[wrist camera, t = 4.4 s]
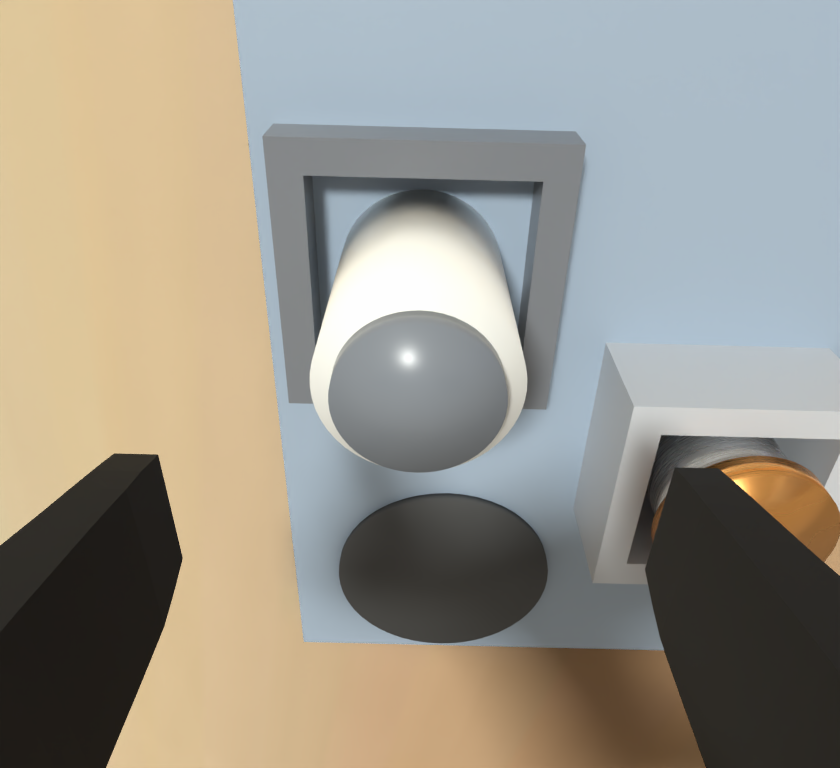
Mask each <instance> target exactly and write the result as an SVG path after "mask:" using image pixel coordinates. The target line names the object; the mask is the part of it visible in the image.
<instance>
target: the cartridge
mask: <svg viewBox="0 0 840 768" xmlns="http://www.w3.org/2000/svg"><path fill="white" fill-rule="evenodd" d="M310 391H311V397H312V400H313V404H314V407H315V410H316V412H317V414H318V416H319V418H320V420H321V421H322V423H323V424H324V426H325V427H326V429H327V430H328V431H329V432H330V433H331V435H332V436H333V437H334V438H335V439H336V440H337V441H338V442H339V443H341V444H342V445H343V446H344V447H345V448H347V449H348V450H350V451H351V452H352V453H354V454H355V455H357V456H359V457H361V458H363V459H365V460H367V461H369V462H372V463H374V464H377V465H380V466H383V467H386V468H389V469H393V470H397V471H403V472H413V473H425V472H435V471H440V470H445V469H449V468H452V467H456V466H459V465H461V464H464V463H467V462H469V461H471V460H473V459H476V458H478V457H479V456H481V455H483V454H484V453H486V452H487V451H489V450H490V449H492V448H493V447H494V446H495V445H497V444H498V443H499V442H500V441H501V440H502V439H503V438H504V437H505V436H506V435H507V434H508V432H509V431H510V430H511V428H512V427H513V426H514V424H515V422H516V421H517V419H518V417H519V415H520V413H521V410H522V408H523V405H524V402H525V397H526V393H527V370H526V364H525V360H524V355H523V351H522V347H521V342H520V338H519V334H518V329H517V325H516V321H515V316H514V312H513V307H512V303H511V299H510V294H509V290H508V286H507V281H506V277H505V273H504V268H503V264H502V260H501V255H500V251H499V247H498V243H497V240H496V238H495V235H494V233H493V231H492V229H491V228H490V226H489V224H488V223H487V222H486V220H485V219H484V218H483V217H482V215H481V214H480V213H478V212H477V211H476V210H475V209H474V208H473V207H472V206H470V205H469V204H467V203H466V202H465V201H463V200H461V199H459V198H457V197H455V196H452V195H450V194H447V193H444V192H439V191H435V190H425V189H420V190H408V191H402V192H398V193H395V194H392V195H389V196H387V197H385V198H383V199H381V200H379V201H378V202H376V203H374V204H373V205H371V206H370V207H369V208H368V209H367V210H365V211H364V212H363V213H362V214H361V216H360V217H359V218H358V219H357V220H356V222H355V223H354V225H353V226H352V228H351V229H350V231H349V233H348V235H347V238H346V241H345V244H344V247H343V251H342V254H341V258H340V261H339V265H338V269H337V272H336V276H335V279H334V283H333V287H332V290H331V294H330V297H329V301H328V304H327V308H326V312H325V315H324V319H323V322H322V326H321V330H320V333H319V337H318V340H317V344H316V348H315V351H314V355H313V358H312V362H311V369H310Z"/></svg>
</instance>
